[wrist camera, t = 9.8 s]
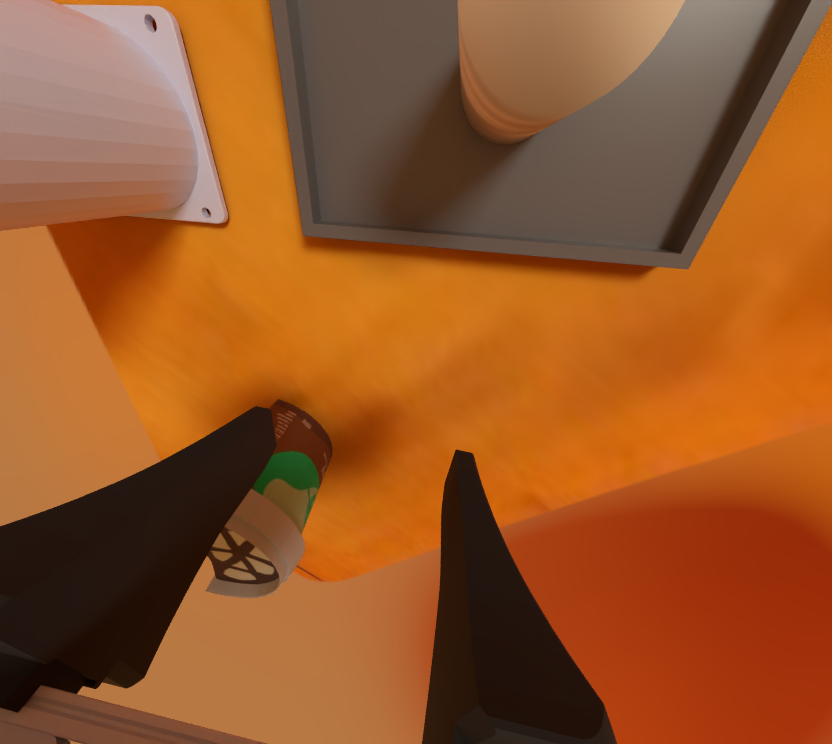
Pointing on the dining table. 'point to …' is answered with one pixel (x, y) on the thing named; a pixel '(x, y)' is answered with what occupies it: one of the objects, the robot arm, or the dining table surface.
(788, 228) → the dining table surface
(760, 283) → the dining table surface
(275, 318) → the dining table surface
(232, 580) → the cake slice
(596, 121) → the tray
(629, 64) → the dowel pin
